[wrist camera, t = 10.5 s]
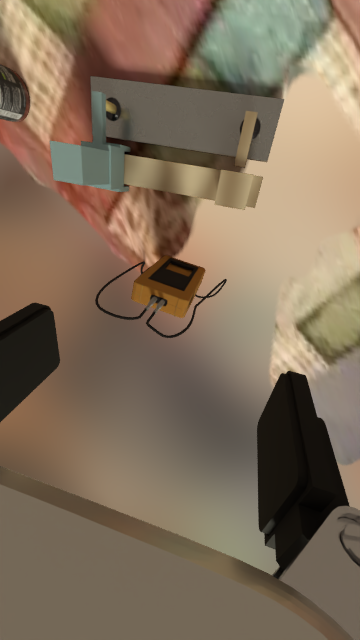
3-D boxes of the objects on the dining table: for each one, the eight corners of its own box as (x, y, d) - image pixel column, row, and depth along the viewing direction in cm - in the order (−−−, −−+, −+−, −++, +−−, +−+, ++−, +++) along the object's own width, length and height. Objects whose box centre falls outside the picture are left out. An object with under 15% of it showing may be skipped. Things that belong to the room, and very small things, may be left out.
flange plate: (283, 101, 29) (284, 98, 28) (266, 162, 32) (267, 161, 31) (95, 79, 33) (89, 75, 32) (96, 135, 36) (91, 134, 35)
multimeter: (135, 298, 47) (69, 364, 30) (144, 246, 42) (71, 292, 25) (209, 324, 46) (183, 409, 29) (228, 275, 41) (211, 343, 24)
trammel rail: (276, 125, 30) (282, 112, 25) (254, 206, 35) (254, 211, 29) (96, 101, 34) (62, 84, 28) (97, 178, 39) (69, 177, 33)
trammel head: (131, 105, 33) (79, 73, 23) (128, 191, 38) (85, 195, 28) (103, 101, 33) (40, 68, 23) (104, 186, 38) (53, 188, 29)
